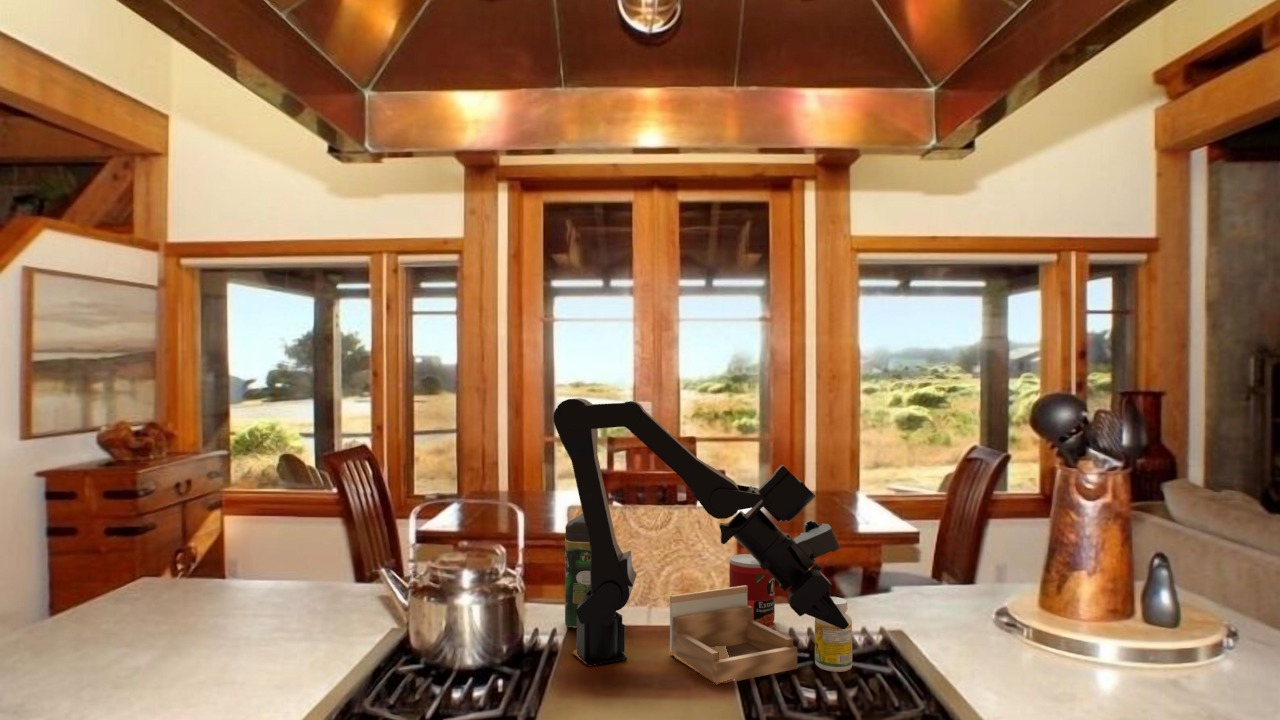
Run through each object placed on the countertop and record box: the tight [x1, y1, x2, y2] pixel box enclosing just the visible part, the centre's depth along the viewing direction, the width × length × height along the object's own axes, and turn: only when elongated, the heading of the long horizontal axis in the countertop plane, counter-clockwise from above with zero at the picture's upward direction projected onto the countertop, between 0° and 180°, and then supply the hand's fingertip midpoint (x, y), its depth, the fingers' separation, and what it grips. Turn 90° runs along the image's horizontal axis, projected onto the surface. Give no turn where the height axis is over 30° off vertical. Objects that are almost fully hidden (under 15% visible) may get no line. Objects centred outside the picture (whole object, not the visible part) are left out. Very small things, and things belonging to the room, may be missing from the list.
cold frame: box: [673, 606, 798, 683], centre depth 113 cm, size 14×12×6 cm
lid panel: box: [669, 585, 748, 652], centre depth 119 cm, size 14×1×9 cm, turn 117°
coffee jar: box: [564, 513, 591, 628], centre depth 131 cm, size 10×8×19 cm
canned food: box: [728, 553, 776, 628], centre depth 133 cm, size 8×8×11 cm
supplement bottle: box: [814, 596, 853, 673], centre depth 112 cm, size 5×5×10 cm
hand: (842, 620), depth 112 cm, fingers closed on supplement bottle, 5 cm apart
